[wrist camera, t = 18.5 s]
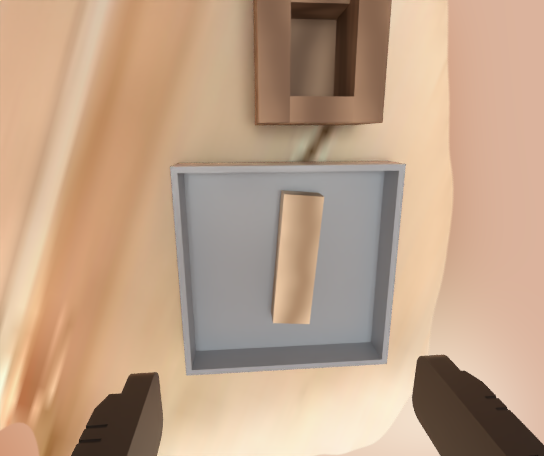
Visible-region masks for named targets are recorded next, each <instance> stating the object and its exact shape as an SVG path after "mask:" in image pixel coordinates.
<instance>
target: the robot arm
mask: <svg viewBox="0 0 544 456" xmlns="http://www.w3.org/2000/svg"><path fill="white" fill-rule="evenodd" d="M412 401H413V407H414V411H415V414H416V416H417V418H418V420H419V422H420V423H421V425H422V427H423V428H424V430H425V431H426V433H427V435H428V436H429V438H430V439H431V441H432V443H433V444H434V446H435V447H436V449H437V450H438V452H439V454H440V455H441V456H544V445H543V444H542V443H541V442H540V441H539V440H538V439H537V438H536V437H535V436H534V434H533V433H532V432H531V431H530V430H529V429H528V428H527V427H526V426H525V425H524V424H523V423H522V422H521V421H520V420H519V419H518V418H517V417H516V416H515V415H514V414H513V413H512V412H511V411H510V410H508V409H507V407H506V406H505V405H504V404H503V403H502V401H501V400H500V399H499V398H496V395H495V394H494V393H493V392H492V391H491V390H490V389H489V388H488V387H487V386H486V385H485V384H484V383H483V382H482V381H480V380H479V379H477V378H476V377H474V376H472V375H471V374H469V373H468V372H466V371H460V370H459V368H458V367H457V366H456V365H455V364H454V363H453V362H452V361H451V360H450V359H449V358H448V357H447V356H445V355H431V356H420V357H419V358H418V360H417V365H416V372H415V380H414V387H413V395H412ZM162 428H163V412H162V402H161V393H160V384H159V376H158V373H157V372H153V373H138V374H130V375H129V377H128V379H127V381H126V384H125V386H124V388H123V391H122V393H121V394H109V395H108V396H107V397H106V398H105V399H104V400H103V401H102V402H101V403H100V404H99V405H98V406H97V407H96V408H95V409H94V411H93V413H92V415H91V417H90V419H89V421H88V423H87V425H86V429H84V431H83V433H82V435H81V437H80V439H79V443H78V444H77V445H76V447H75V449H74V451H73V453H72V455H71V456H157V453H158V449H159V445H160V441H161V436H162Z"/></svg>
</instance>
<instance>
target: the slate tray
mask: <svg viewBox="0 0 544 456" xmlns="http://www.w3.org/2000/svg"><path fill="white" fill-rule="evenodd" d="M405 166H406V164H402V163H397V162H391V161H345V162H244V163H177V164H175V165H173V166H171V167H170V171H171V184H172V197H173V210H174V222H175V235H176V248H177V261H178V274H179V286H180V299H181V312H182V325H183V338H184V350H185V363H186V375H203V374H220V373H238V372H255V371H272V370H290V369H307V368H324V367H342V366H359V365H376V364H387V356H388V345H389V335H390V324H391V314H392V303H393V293H394V282H395V272H396V261H397V250H398V240H399V229H400V219H401V208H402V198H403V187H404V177H405ZM281 190H285V191H301V192H316V193H320V194H321V195H323V196H324V204H323V213H322V221H321V230H320V238H319V247H318V255H317V264H316V273H315V281H314V290H313V298H312V307H311V315H310V324H283V323H273V321H272V315H271V305H272V294H273V282H274V270H275V258H276V247H277V235H278V223H279V211H280V199H281Z"/></svg>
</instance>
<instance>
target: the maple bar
mask: <svg viewBox="0 0 544 456" xmlns="http://www.w3.org/2000/svg"><path fill="white" fill-rule="evenodd" d="M323 204H324V196H323V195H321V194H320V193H316V192H301V191H285V190H281V199H280V211H279V223H278V235H277V247H276V258H275V270H274V282H273V294H272V305H271V315H272V321H273V323H283V324H310V315H311V307H312V298H313V290H314V281H315V273H316V264H317V255H318V247H319V238H320V230H321V221H322V213H323Z"/></svg>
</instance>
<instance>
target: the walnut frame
mask: <svg viewBox="0 0 544 456" xmlns="http://www.w3.org/2000/svg"><path fill="white" fill-rule="evenodd" d="M391 2H392V0H254V65H255V125H359V124H371V123H382V121H383V108H384V95H385V82H386V68H387V55H388V42H389V29H390V15H391Z"/></svg>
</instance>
